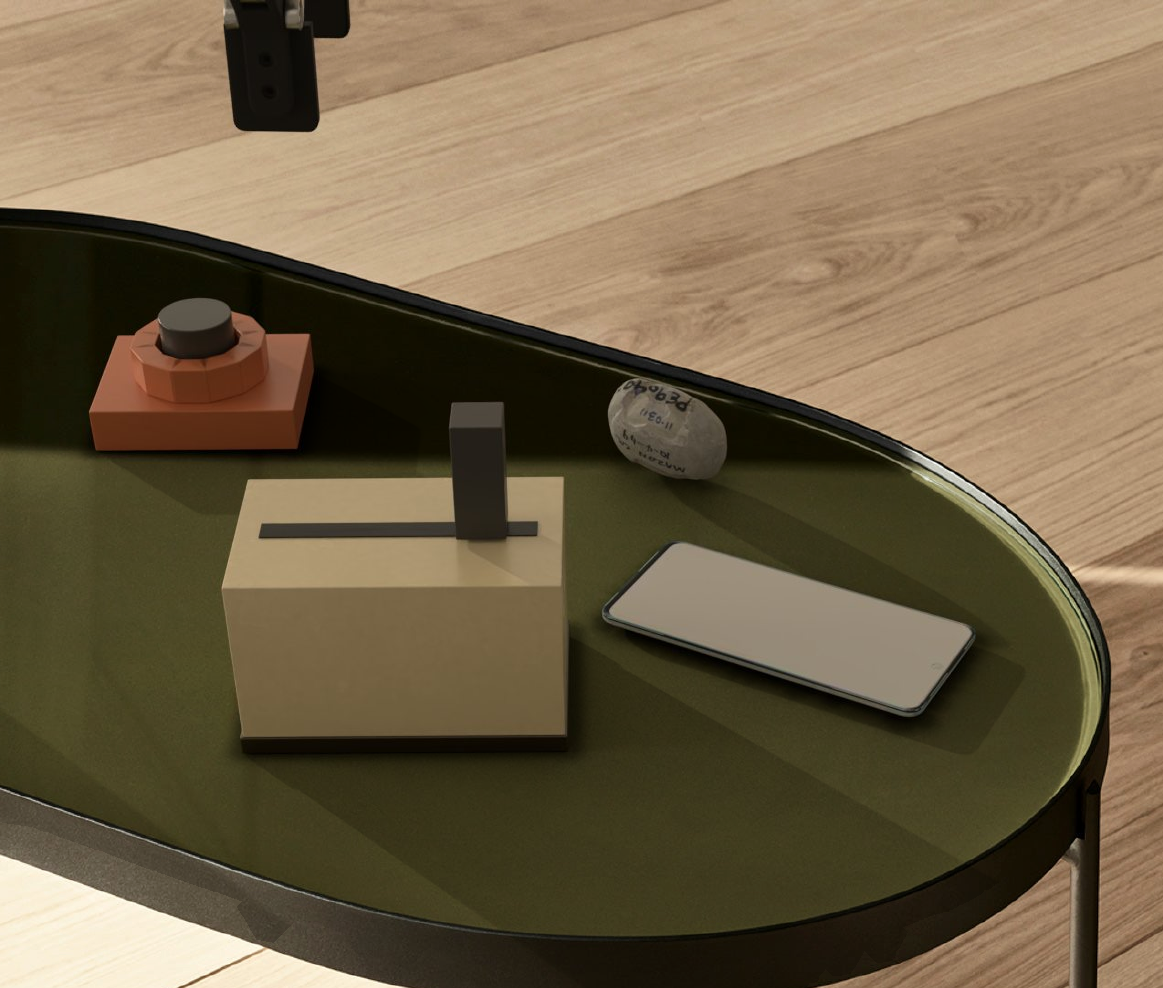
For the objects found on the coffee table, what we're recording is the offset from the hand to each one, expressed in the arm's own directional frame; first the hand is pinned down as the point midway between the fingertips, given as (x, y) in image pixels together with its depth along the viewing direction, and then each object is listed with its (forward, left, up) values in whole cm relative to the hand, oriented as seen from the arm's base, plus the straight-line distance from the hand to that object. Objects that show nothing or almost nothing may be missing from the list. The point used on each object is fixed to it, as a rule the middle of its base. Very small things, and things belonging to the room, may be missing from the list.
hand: (295, 80), depth 83 cm
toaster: (+4, -11, -22) cm, 25 cm away
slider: (+7, -11, -14) cm, 19 cm away
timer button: (-8, +13, -18) cm, 24 cm away
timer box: (-8, +13, -22) cm, 27 cm away
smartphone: (+20, -7, -22) cm, 31 cm away
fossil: (+15, +6, -22) cm, 27 cm away
